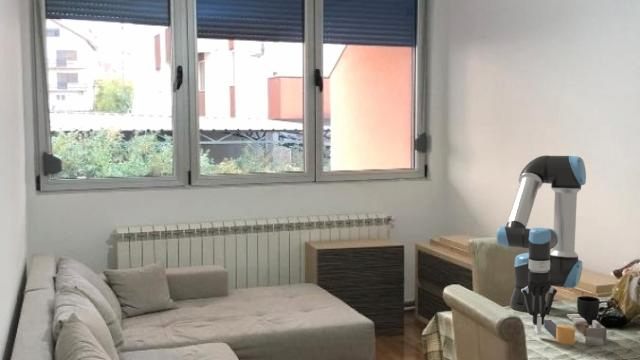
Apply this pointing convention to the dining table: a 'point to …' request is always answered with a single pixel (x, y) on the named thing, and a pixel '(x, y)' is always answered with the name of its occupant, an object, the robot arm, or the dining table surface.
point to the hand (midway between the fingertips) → (538, 333)
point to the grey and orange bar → (560, 332)
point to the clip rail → (589, 330)
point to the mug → (590, 308)
